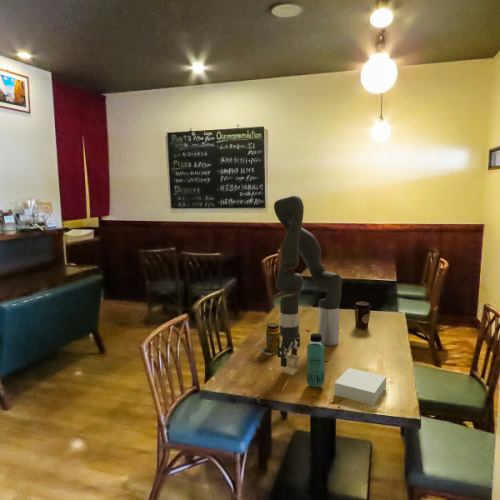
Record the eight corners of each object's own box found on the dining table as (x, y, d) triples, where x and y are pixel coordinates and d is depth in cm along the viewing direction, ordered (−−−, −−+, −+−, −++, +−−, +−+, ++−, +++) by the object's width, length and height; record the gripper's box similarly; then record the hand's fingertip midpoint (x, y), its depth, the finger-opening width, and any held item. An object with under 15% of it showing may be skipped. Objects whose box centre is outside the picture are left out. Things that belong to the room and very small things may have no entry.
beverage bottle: (304, 383, 157) (304, 331, 154) (322, 382, 157) (322, 330, 154) (308, 391, 150) (308, 338, 147) (326, 390, 151) (327, 337, 148)
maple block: (288, 367, 170) (287, 353, 170) (299, 370, 168) (299, 356, 167) (282, 372, 166) (281, 357, 165) (293, 375, 164) (293, 360, 163)
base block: (348, 380, 159) (348, 367, 158) (385, 389, 152) (386, 376, 151) (334, 396, 148) (334, 382, 147) (374, 406, 140) (374, 392, 139)
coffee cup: (372, 326, 216) (373, 302, 214) (368, 331, 209) (368, 306, 207) (356, 324, 220) (356, 300, 218) (351, 328, 214) (351, 304, 212)
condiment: (283, 351, 187) (283, 325, 185) (268, 355, 182) (268, 329, 181) (274, 346, 193) (273, 321, 191) (258, 350, 188) (258, 324, 187)
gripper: (289, 317, 172) (289, 354, 174) (271, 326, 160) (271, 367, 163) (306, 320, 168) (305, 358, 170) (288, 330, 156) (288, 371, 159)
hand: (288, 362), depth 167 cm, fingers open, 8 cm apart
